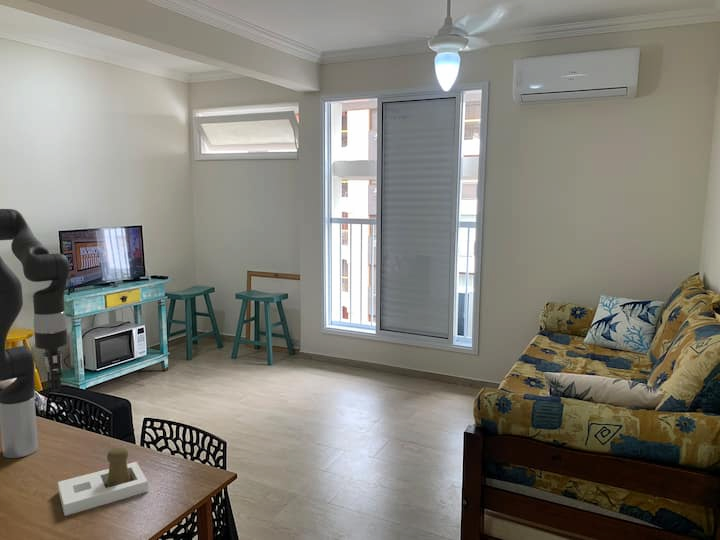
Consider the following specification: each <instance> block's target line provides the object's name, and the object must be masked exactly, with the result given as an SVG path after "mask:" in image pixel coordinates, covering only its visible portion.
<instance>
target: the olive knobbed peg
mask: <svg viewBox="0 0 720 540" xmlns="http://www.w3.org/2000/svg"><path fill="white" fill-rule="evenodd" d="M128 457H129V452H128V450H127V449H126V447H122V446H119V447H113V448H112V449H109V451H108V453H107V455H106V459H107V462H108V463H109V465H108V469H109V474H108V484H106V485H107V487H106V488H109V487H112V486H116V485H120V484H123V483H127V482H130V481H131V477H129V472H128V467H127V464H128V463H127V459H128Z"/></svg>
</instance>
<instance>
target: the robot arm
mask: <svg viewBox="0 0 720 540" xmlns="http://www.w3.org/2000/svg"><path fill="white" fill-rule="evenodd" d="M10 240H11V241H12V242H11V246H10V247H11V251H12V253H13V255H14V256H15V257H16V259H17V260H18V261H20V263H21V265H22V270H23V275H24V277H25V278H26V280H28V281H31V282H34V283H41V282H49V281H51V282H50V284H49V286H47V287H46V288H43V289H39V290H37V291H35V292H34V293H33V296H32V300H33V301H32V302H33V303H32V304H33V331H34V333H33V334H34V342H35V343H34V345H35V348H36V349H40V350H44V352H43V353H42V355H43V359H44V360H43V361H44V366H45V369H46V372H47V382H48V384H50V391H51V393H53V394H54V393H59V392H61V390H62V385H61V382H62V381H61V378H62V376H63V374H62V368H63V364H62V357H63V356H62V352H61V350H59V348H62V347H64V346H66V345H68V341H69V340H68V328H67V327H68V326H67V317H66V313H65V312H66V310H65V292H66V286H67V281H68V277H69V275H70V267H71V266H70V262H69V259H68V258H67V256H65V254H62V253H50V252H49V250H48V249H47V247H46V246H45V245H44V244H43V243H42V242H41V241H40V240H39V239H38V238H37V237H36V236H35V235H34V233H33V231H32V229H31V228H30V226H29V224H28V222H27V220H26V219H25V218H24V216H23V214H22V213H21V212H19V211H18V210H16V209H13V208H0V241H10ZM22 286H23V285H22V282H21V280H20V279H19V278H18V276H17V275H16V274H15V272H13V270H12V269H11V268H10V267H9V266H8V264H7V263H5V261H4V259H2V257H1V256H0V382H3V381H9V380H13V379H15V380H14V381H13V382H12V383H10V384H9V385H8V386H6V387H4V388H3V389H1V390H0V432H1V435H0V436H1V444H2V445H1V447H2V456H3V457H4V458H7V459H17V458H18V459H19V458H22V457H27V456H30V455H31V454H34V453H35V452H36V451H37V450H38V448H39V446H38V445H39V442H38V430H37V413H36V401H35V387H36V386H35V385H36V383H35V382H36V381H35V357H34V353H33V351H32V349H31V348H30V347H29V346H27V345H20V346H15V347H10V348H6V343H7V342H6V341H7V337H8V333H9V332H10V330H11V327H12V326H13V325H14V323H15V321H16V320H17V318H18V316H19V314H20V313H21V310H22V308H23V304H24V299H23V287H22Z"/></svg>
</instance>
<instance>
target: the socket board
mask: <svg viewBox="0 0 720 540" xmlns="http://www.w3.org/2000/svg"><path fill="white" fill-rule="evenodd" d="M127 467H128V472H129V477H130V478H131V479H132V480H130V482H127V483H123V484H120V485H116V486H112V487H109V488H107V487H106V486H105V485H108V474H109V468H107V469H102V470H99V471H95V472H91V473H87V474H83V475H79V476H75V477H71V478H67V479H64V480H59V481H57V485H58V486H57V487H58V495H59V499H60V503H61V507H62V510H63V516H70V515H72V514H76V513H80V512H84V511H87V510H90V509H93V508H97V507H101V506H105V505H108V504H110V503H114V502H117V501H121V500H124V499H125V500H126V499H128V498H132V497H134V495H135V496H138V495H141V493H142V494H146V493H149V484H148V483H149V482H148V480H147V478H146V475H145V474H144V472H143V470H142V469H141V467H140V466H139V463H138V462H137V461H134V462H130V463H127ZM137 494H138V495H137ZM131 496H132V497H131Z"/></svg>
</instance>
